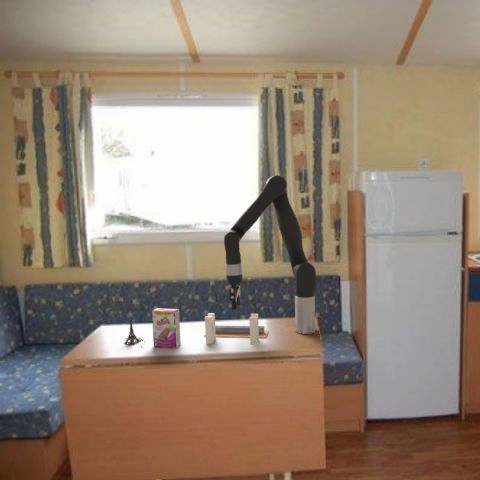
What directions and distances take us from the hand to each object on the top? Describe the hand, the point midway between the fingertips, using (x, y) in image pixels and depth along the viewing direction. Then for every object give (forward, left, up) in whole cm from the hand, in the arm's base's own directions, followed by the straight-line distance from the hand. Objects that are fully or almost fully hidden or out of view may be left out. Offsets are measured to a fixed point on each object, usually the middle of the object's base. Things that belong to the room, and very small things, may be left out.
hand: (236, 307), depth 192 cm
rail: (0, 0, -12) cm, 12 cm away
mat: (0, 0, -13) cm, 13 cm away
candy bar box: (+28, +18, -13) cm, 36 cm away
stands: (0, +11, -13) cm, 17 cm away
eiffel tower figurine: (+45, +15, -14) cm, 50 cm away
